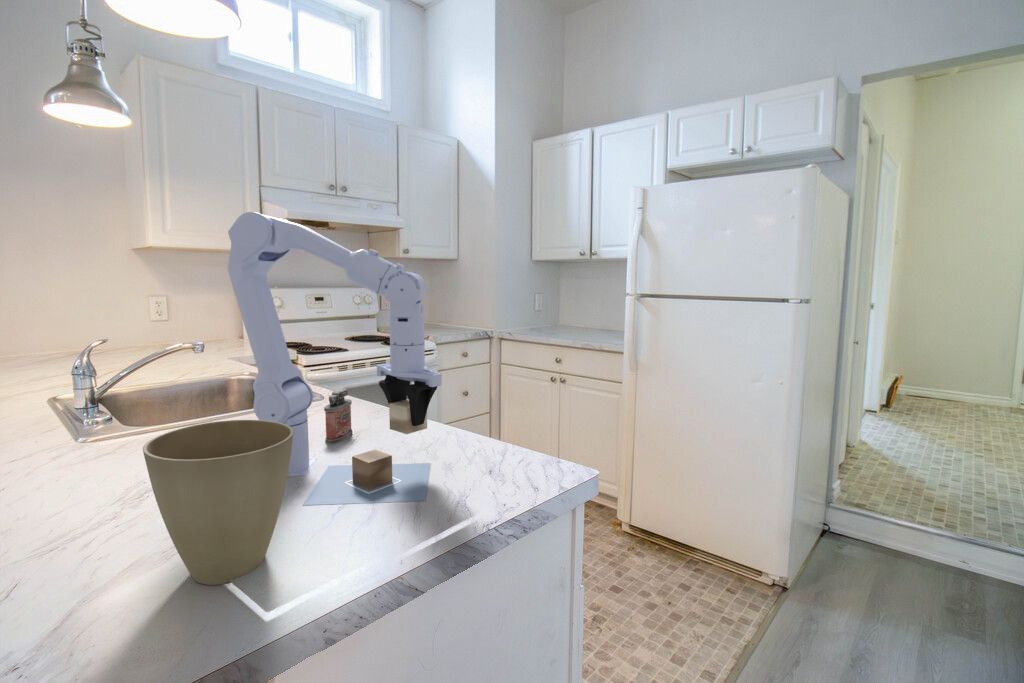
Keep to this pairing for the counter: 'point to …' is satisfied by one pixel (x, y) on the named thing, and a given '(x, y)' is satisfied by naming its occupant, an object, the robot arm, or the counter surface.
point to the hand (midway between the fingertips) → (408, 421)
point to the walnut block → (372, 469)
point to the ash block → (403, 418)
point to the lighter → (338, 417)
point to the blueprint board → (342, 490)
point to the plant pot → (220, 492)
